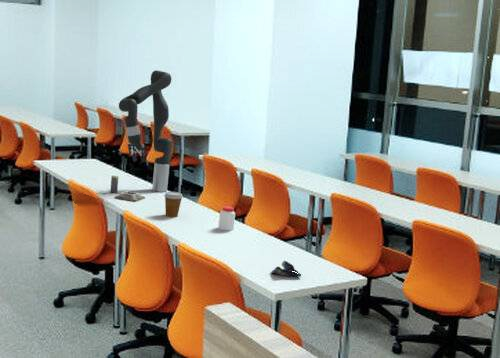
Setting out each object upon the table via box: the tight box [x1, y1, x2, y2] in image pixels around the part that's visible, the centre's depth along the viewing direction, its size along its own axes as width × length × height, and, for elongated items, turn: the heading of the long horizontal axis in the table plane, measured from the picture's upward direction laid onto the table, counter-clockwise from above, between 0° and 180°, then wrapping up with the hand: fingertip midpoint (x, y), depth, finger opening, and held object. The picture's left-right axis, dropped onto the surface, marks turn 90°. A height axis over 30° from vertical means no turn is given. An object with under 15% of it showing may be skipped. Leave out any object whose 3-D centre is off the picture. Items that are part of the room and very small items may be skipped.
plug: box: [109, 175, 119, 194], centre depth 381 cm, size 4×4×10 cm
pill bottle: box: [217, 205, 236, 231], centre depth 326 cm, size 8×8×11 cm
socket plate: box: [114, 190, 146, 203], centre depth 372 cm, size 13×13×3 cm
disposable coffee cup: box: [164, 191, 184, 218], centre depth 340 cm, size 10×10×12 cm
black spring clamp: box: [270, 260, 302, 278], centre depth 261 cm, size 12×6×12 cm
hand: (139, 161), depth 370 cm, fingers open, 8 cm apart
